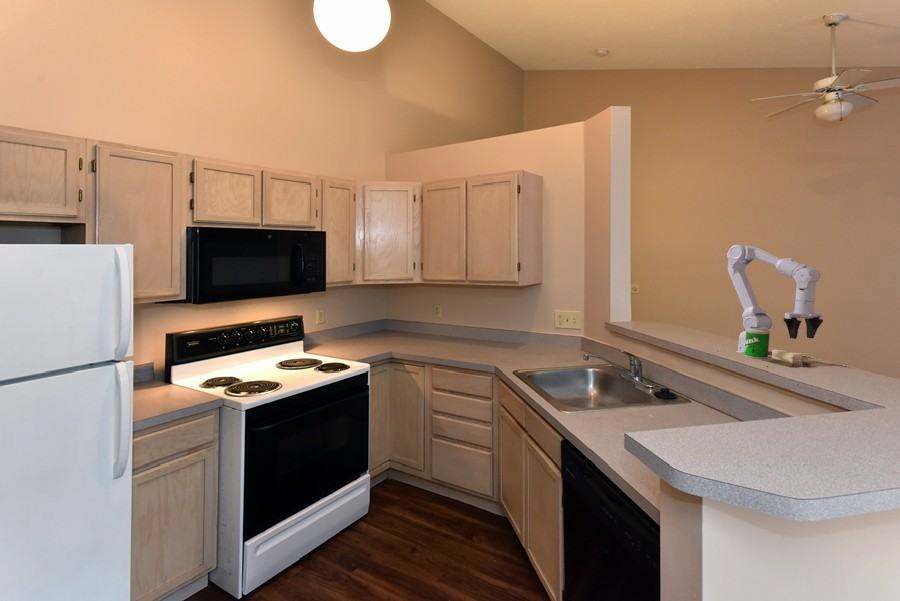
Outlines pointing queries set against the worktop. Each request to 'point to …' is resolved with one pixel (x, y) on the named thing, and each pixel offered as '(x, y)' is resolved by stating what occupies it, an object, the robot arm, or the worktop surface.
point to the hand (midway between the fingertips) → (801, 338)
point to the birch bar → (786, 356)
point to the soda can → (756, 342)
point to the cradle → (801, 363)
